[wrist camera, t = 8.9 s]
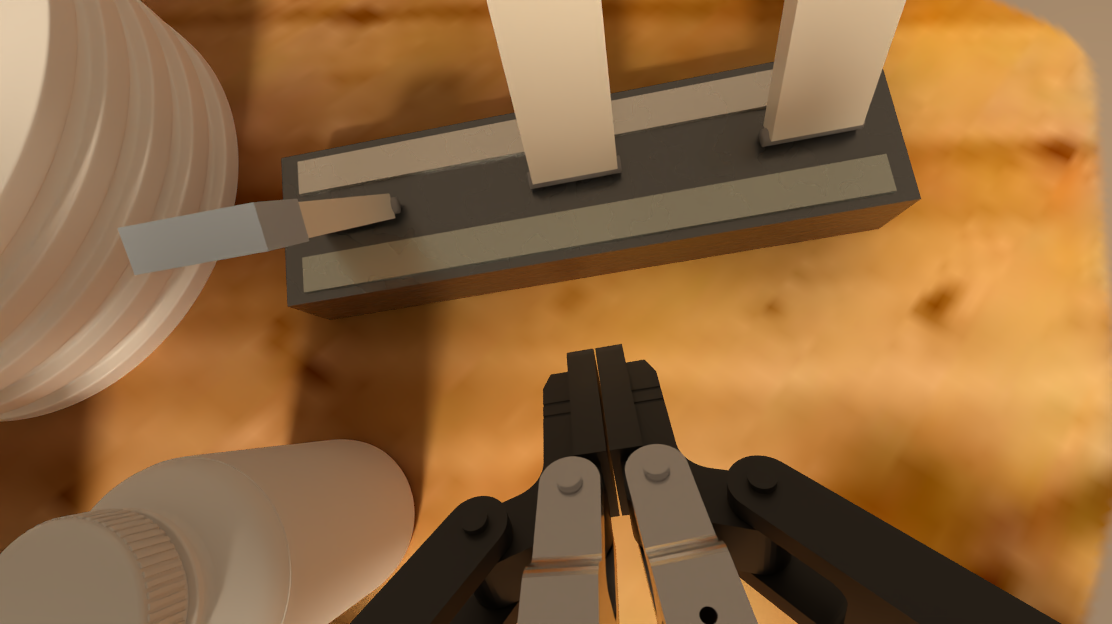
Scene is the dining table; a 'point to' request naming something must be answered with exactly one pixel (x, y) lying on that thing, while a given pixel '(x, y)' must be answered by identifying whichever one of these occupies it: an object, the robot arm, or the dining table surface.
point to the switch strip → (589, 198)
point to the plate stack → (97, 190)
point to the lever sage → (827, 66)
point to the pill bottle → (220, 541)
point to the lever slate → (246, 229)
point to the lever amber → (558, 86)
